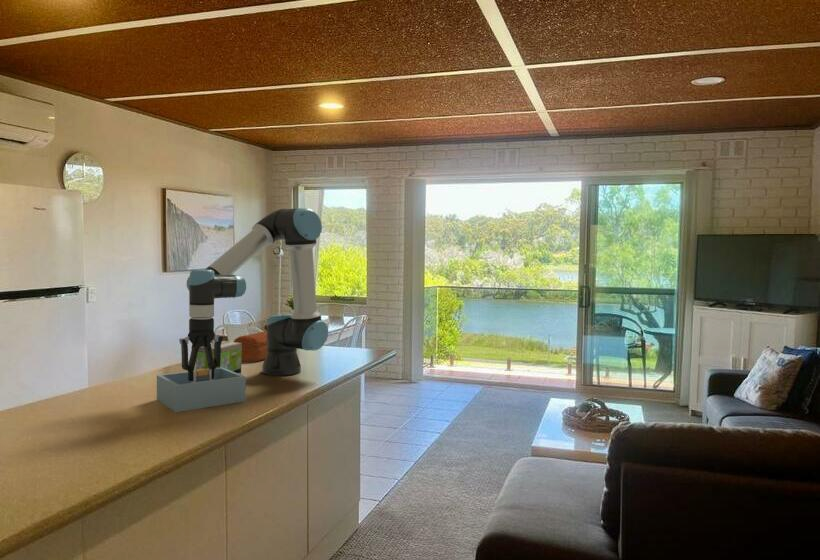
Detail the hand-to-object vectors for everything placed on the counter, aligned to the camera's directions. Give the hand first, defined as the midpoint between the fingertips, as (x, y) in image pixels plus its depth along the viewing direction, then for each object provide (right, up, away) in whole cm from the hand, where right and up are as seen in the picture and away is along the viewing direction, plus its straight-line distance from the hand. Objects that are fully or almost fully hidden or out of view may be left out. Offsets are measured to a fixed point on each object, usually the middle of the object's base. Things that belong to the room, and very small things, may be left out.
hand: (201, 389), depth 190 cm
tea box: (-1, -3, +22) cm, 22 cm away
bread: (-1, 0, +79) cm, 79 cm away
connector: (0, -3, 0) cm, 3 cm away
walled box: (0, -3, 0) cm, 3 cm away
